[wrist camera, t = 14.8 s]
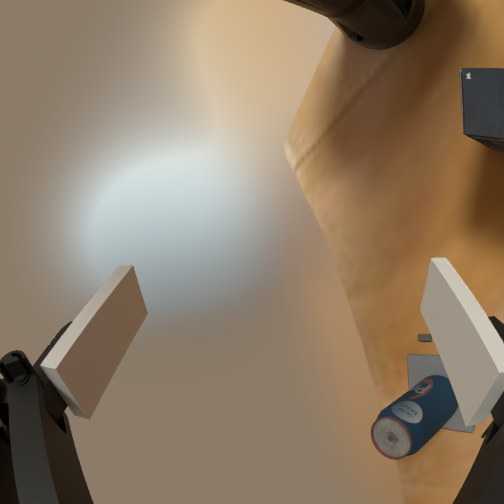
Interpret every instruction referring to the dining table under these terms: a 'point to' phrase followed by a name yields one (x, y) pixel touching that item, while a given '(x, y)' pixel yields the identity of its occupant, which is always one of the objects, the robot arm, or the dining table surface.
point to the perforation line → (424, 337)
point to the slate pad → (426, 367)
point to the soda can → (414, 417)
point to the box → (483, 105)
